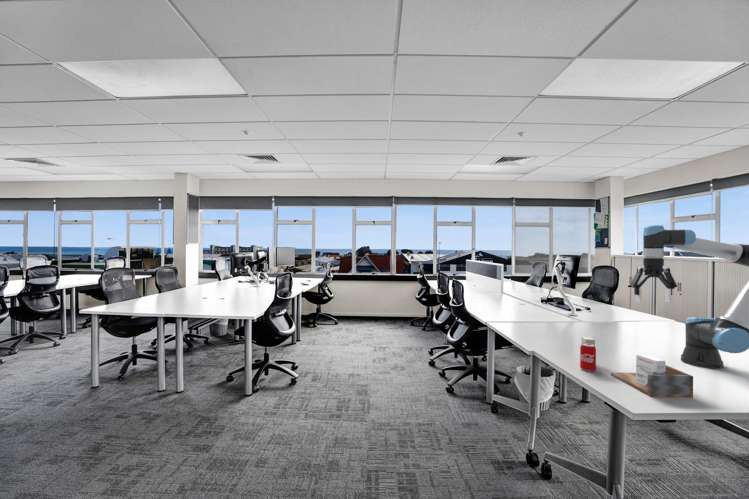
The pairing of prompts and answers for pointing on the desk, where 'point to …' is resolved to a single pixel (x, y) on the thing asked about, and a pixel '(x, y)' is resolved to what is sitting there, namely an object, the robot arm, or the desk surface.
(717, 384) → the desk surface
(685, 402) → the desk surface
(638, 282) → the robot arm
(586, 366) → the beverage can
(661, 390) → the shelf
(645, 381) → the ink box
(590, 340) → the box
